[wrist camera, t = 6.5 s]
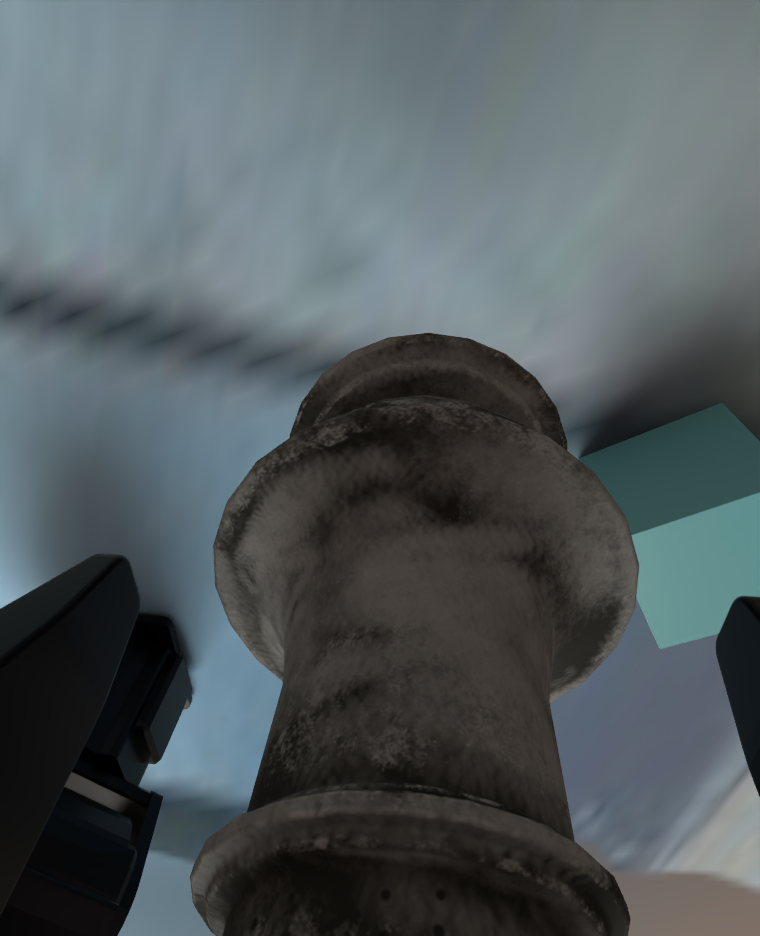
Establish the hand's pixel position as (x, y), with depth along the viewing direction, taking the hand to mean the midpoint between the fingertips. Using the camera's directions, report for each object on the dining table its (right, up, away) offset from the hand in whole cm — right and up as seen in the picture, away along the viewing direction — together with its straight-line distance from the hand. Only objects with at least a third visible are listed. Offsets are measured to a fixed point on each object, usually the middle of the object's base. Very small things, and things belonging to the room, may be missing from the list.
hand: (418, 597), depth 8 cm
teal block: (+10, +1, +14) cm, 17 cm away
